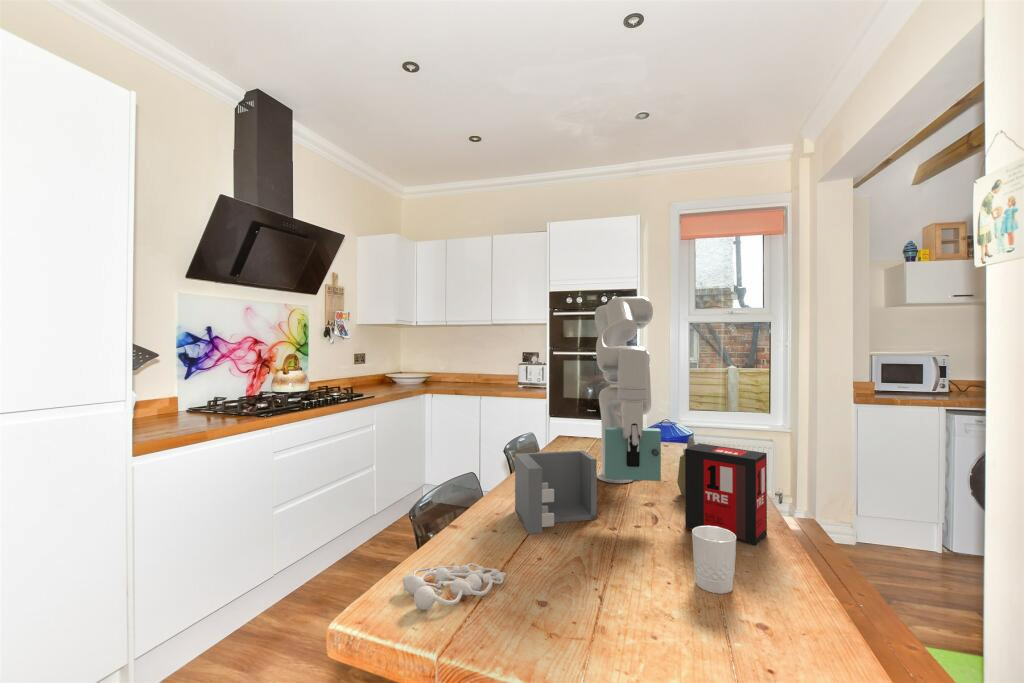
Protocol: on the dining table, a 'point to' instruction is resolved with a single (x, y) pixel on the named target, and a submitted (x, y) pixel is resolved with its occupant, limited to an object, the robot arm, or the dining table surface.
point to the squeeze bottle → (683, 468)
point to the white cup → (714, 558)
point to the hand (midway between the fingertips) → (632, 463)
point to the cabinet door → (618, 455)
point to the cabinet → (555, 488)
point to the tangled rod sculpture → (459, 586)
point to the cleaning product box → (727, 490)
